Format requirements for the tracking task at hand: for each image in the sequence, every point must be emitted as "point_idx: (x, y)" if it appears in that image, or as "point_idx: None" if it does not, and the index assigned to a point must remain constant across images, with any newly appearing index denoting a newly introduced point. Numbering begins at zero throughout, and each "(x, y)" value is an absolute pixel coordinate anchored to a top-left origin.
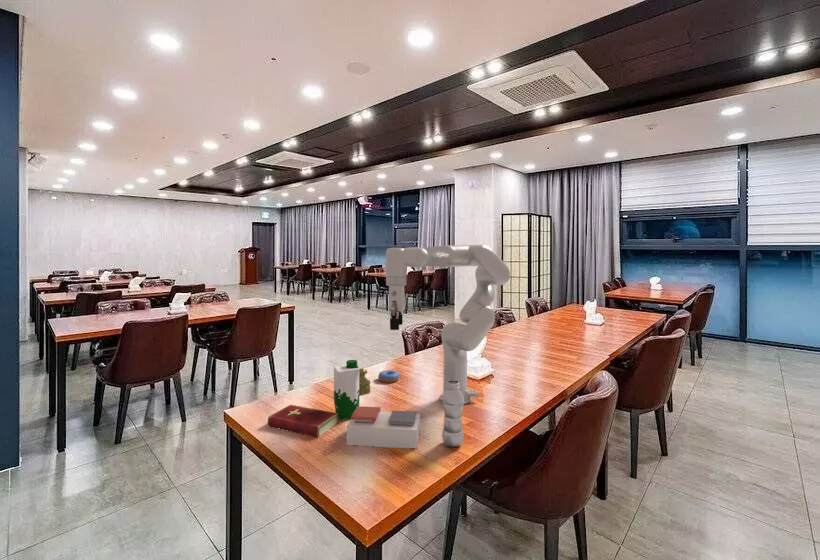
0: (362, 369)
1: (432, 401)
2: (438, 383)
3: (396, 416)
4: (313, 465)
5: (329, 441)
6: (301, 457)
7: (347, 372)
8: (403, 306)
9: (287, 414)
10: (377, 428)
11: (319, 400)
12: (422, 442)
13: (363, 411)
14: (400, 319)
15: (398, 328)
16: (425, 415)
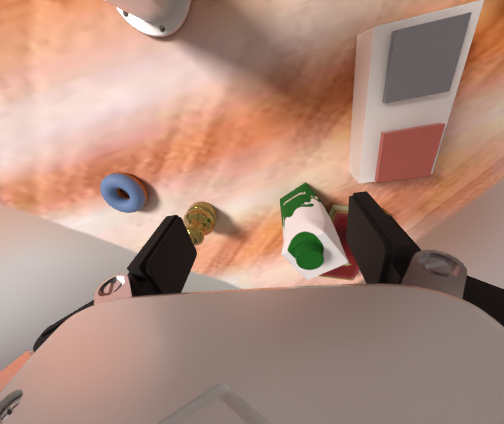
0: (192, 237)
1: (190, 53)
2: (74, 71)
3: (424, 80)
4: (470, 182)
5: (396, 190)
6: (442, 205)
7: (339, 247)
8: (311, 387)
9: (345, 266)
10: (449, 112)
11: (258, 253)
12: (416, 8)
13: (406, 161)
14: (169, 246)
15: (367, 196)
16: (273, 47)
